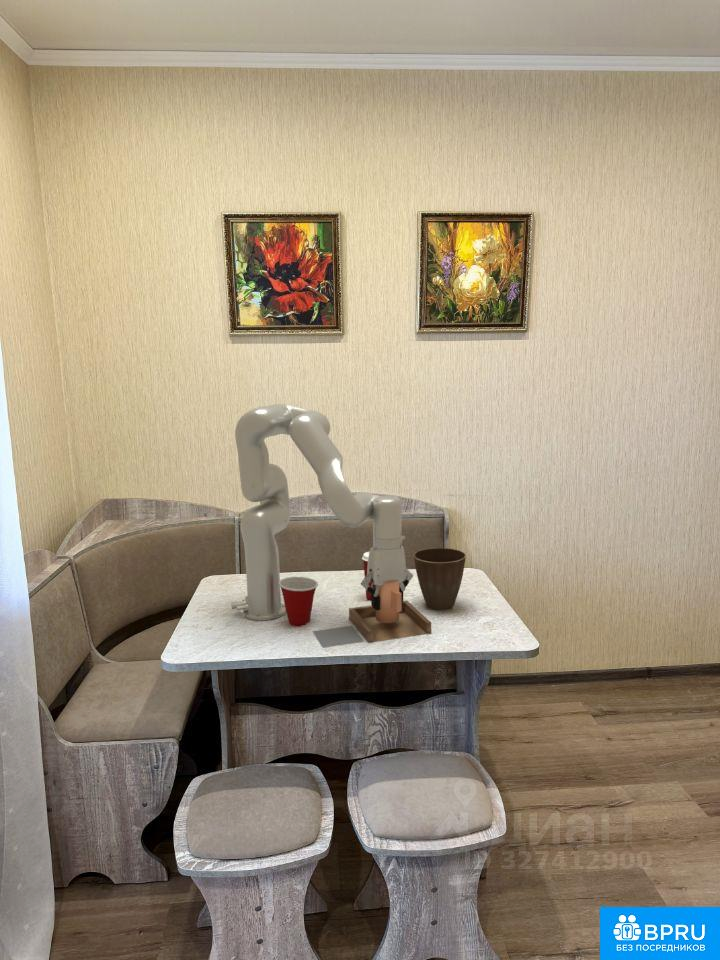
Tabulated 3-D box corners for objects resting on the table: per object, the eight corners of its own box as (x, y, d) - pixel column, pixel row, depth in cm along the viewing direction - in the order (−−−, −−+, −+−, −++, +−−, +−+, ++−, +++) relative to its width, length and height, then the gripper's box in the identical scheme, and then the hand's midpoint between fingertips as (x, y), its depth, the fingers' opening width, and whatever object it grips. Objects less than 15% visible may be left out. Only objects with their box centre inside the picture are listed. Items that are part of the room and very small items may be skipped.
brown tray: (368, 644, 174) (368, 631, 174) (349, 620, 191) (348, 608, 190) (431, 635, 180) (431, 622, 179) (407, 612, 196) (407, 600, 195)
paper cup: (388, 602, 204) (387, 557, 202) (362, 602, 204) (361, 557, 202) (387, 593, 212) (387, 550, 209) (363, 593, 212) (362, 550, 209)
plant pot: (408, 614, 194) (408, 560, 192) (419, 596, 208) (419, 546, 206) (461, 619, 190) (461, 564, 187) (468, 600, 204) (469, 549, 201)
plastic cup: (316, 630, 184) (315, 588, 182) (277, 630, 185) (275, 588, 183) (321, 615, 195) (320, 575, 193) (284, 615, 196) (282, 575, 194)
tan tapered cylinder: (371, 616, 186) (371, 578, 184) (391, 612, 189) (391, 574, 187) (388, 628, 178) (388, 588, 176) (409, 623, 181) (409, 584, 179)
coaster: (322, 649, 172) (322, 647, 172) (312, 633, 182) (312, 631, 182) (364, 643, 175) (364, 641, 175) (351, 627, 186) (351, 625, 186)
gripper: (407, 534, 188) (407, 596, 191) (351, 543, 180) (352, 607, 183) (422, 541, 182) (421, 605, 185) (365, 550, 174) (365, 617, 177)
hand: (387, 605), depth 184 cm, fingers closed on tan tapered cylinder, 6 cm apart
